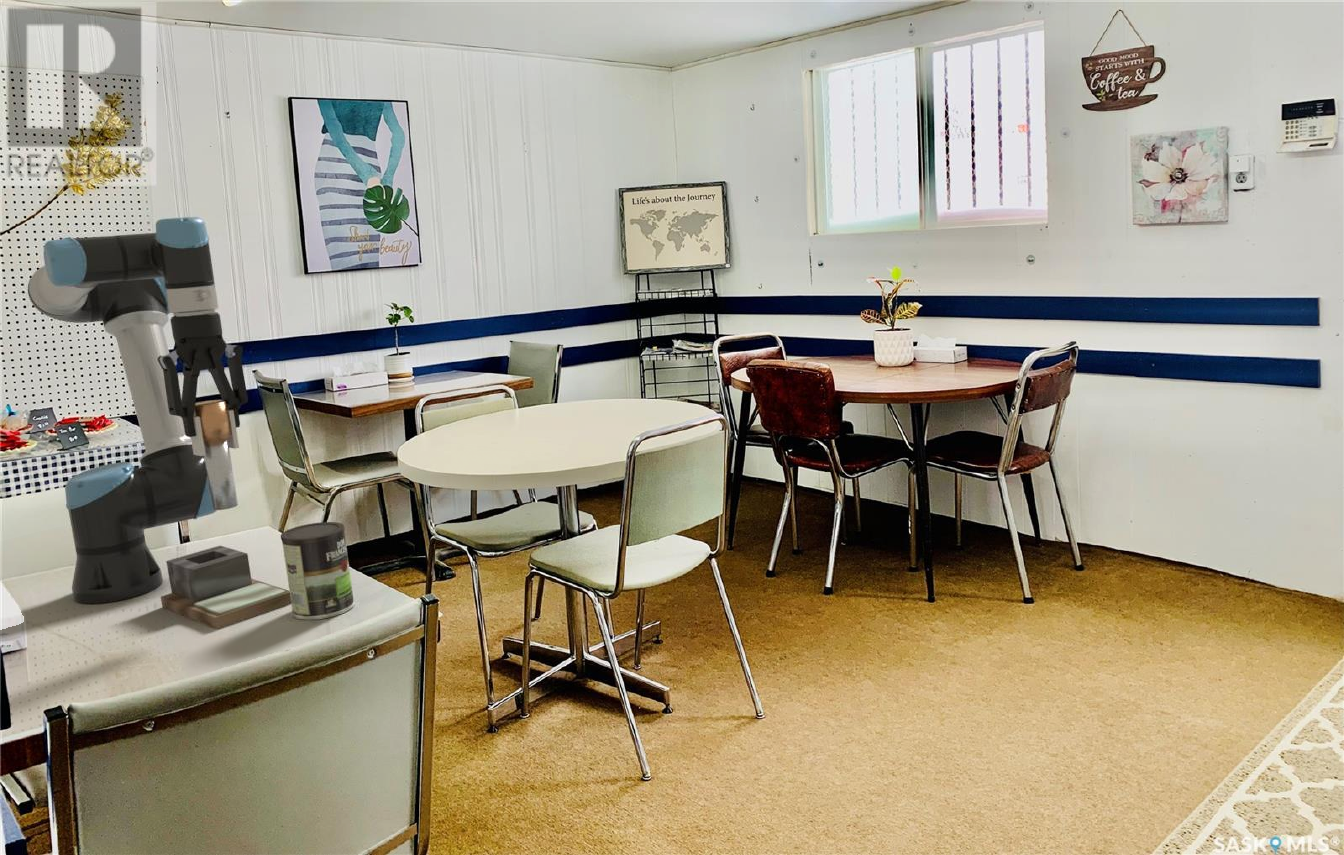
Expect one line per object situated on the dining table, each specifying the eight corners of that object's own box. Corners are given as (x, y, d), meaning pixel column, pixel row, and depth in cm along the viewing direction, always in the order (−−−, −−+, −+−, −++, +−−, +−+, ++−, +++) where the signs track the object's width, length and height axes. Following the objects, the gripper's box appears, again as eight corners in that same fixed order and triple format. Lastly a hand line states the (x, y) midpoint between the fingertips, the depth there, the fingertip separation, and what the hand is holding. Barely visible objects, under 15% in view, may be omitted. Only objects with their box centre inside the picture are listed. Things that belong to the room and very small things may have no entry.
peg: (218, 512, 180) (201, 406, 176) (203, 508, 183) (186, 404, 180) (247, 504, 184) (231, 400, 180) (232, 501, 187) (216, 399, 183)
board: (162, 607, 191) (154, 564, 190) (236, 583, 202) (230, 542, 200) (217, 629, 179) (209, 583, 177) (293, 602, 189) (287, 558, 187)
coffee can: (365, 598, 188) (355, 520, 186) (336, 620, 178) (325, 539, 176) (312, 598, 190) (300, 521, 188) (280, 620, 181) (268, 539, 178)
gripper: (149, 320, 168) (173, 465, 172) (257, 306, 181) (277, 441, 186) (128, 319, 173) (152, 460, 177) (235, 306, 186) (255, 438, 191)
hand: (216, 450), depth 181 cm, fingers closed on peg, 5 cm apart
